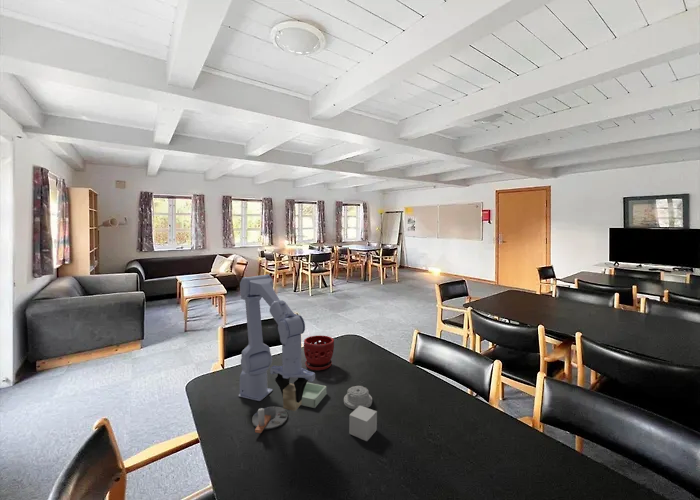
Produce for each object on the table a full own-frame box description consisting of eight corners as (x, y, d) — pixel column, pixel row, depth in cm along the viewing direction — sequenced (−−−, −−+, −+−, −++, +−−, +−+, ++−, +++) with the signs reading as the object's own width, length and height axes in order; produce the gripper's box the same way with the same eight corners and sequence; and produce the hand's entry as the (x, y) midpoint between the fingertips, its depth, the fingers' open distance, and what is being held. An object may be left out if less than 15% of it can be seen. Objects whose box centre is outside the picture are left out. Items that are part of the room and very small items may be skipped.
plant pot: (333, 372, 133) (332, 345, 132) (301, 372, 134) (301, 345, 133) (335, 359, 146) (334, 334, 145) (306, 359, 147) (306, 334, 146)
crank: (267, 411, 104) (266, 394, 103) (277, 412, 103) (277, 395, 103) (252, 433, 93) (251, 414, 93) (263, 434, 93) (263, 415, 92)
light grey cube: (349, 434, 94) (349, 414, 94) (359, 423, 99) (359, 405, 99) (367, 441, 91) (366, 421, 91) (376, 430, 96) (376, 411, 96)
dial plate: (244, 425, 99) (244, 422, 99) (265, 406, 109) (265, 403, 109) (275, 432, 95) (275, 429, 95) (294, 412, 105) (293, 409, 105)
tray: (290, 402, 111) (289, 394, 111) (303, 389, 120) (303, 381, 120) (314, 408, 108) (314, 399, 107) (326, 393, 117) (326, 386, 116)
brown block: (283, 408, 96) (282, 389, 96) (290, 401, 100) (289, 383, 99) (295, 411, 95) (294, 391, 94) (301, 403, 99) (301, 385, 98)
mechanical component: (340, 408, 108) (370, 412, 106) (340, 396, 107) (370, 399, 105) (347, 393, 117) (373, 396, 115) (347, 382, 117) (373, 384, 115)
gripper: (263, 357, 95) (264, 401, 96) (307, 365, 90) (307, 411, 91) (276, 349, 101) (277, 390, 103) (318, 355, 96) (318, 398, 98)
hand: (292, 399), depth 97 cm, fingers closed on brown block, 4 cm apart
